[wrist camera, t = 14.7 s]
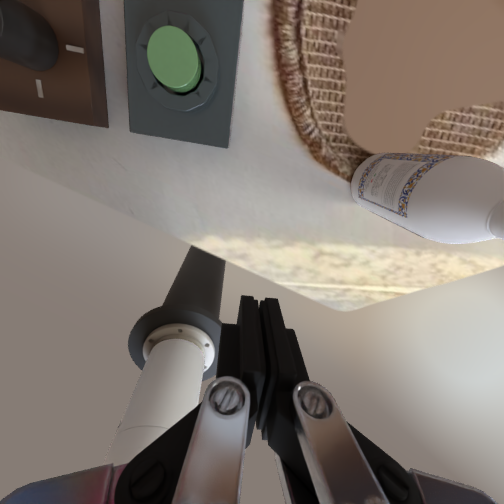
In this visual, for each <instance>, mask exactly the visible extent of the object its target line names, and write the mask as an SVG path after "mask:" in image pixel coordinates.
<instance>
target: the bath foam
mask: <svg viewBox="0 0 504 504" xmlns="http://www.w3.org/2000/svg"><path fill="white" fill-rule="evenodd" d="M351 193H352V196H353V198H354V200H355V201H356V203H357V204H358V205H360V206H361V207H363V208H365V209H367V210H369V211H371V212H373V213H375V214H377V215H379V216H381V217H383V218H385V219H387V220H389V221H391V222H393V223H395V224H397V225H399V226H401V227H403V228H405V229H407V230H409V231H411V232H413V233H415V234H417V235H419V236H421V237H423V238H426V239H429V240H433V241H437V242H441V243H449V244H465V243H473V242H480V241H485V240H490V239H495V238H500V239H502V240H504V168H503V167H501V166H499V165H497V164H495V163H493V162H490V161H487V160H484V159H480V158H475V157H471V156H455V155H432V154H408V153H379V154H375V155H373V156H371V157H369V158H367V159H366V160H365V161H364V162H362V163H361V164H360V165H359V167H358V168H357V169H356V171H355V173H354V175H353V177H352V181H351Z"/></svg>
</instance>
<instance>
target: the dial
mask: <svg viewBox="0 0 504 504" xmlns="http://www.w3.org/2000/svg"><path fill="white" fill-rule="evenodd" d="M58 52H59V49H58V42H57V38H56V36H55V33H54V31H53V29H52V28H51V26H50V25H49V23H48V22H47V21H46V20H45V19H44V18H43V17H42V16H41V15H40V14H39V13H37V12H36V11H34V10H33V9H31V8H30V7H28V6H27V5H25V4H24V3H22V2H21V1H19V0H0V58H3V59H5V60H8V61H11V62H13V63H16V64H19V65H22V66H24V67H27V68H30V69H32V70H36V71H45V70H48V69H50V68H51V67H53V66H54V64H55V63H56V61H57V58H58Z"/></svg>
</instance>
